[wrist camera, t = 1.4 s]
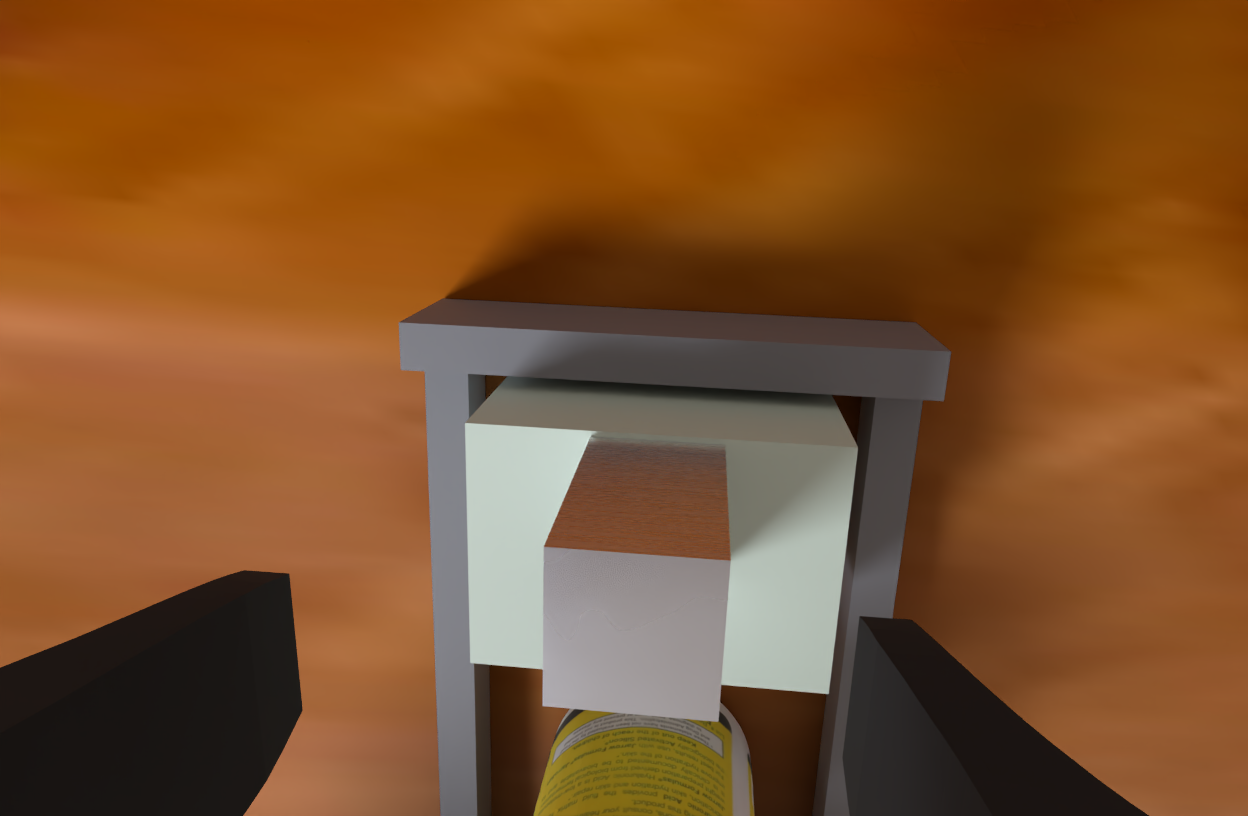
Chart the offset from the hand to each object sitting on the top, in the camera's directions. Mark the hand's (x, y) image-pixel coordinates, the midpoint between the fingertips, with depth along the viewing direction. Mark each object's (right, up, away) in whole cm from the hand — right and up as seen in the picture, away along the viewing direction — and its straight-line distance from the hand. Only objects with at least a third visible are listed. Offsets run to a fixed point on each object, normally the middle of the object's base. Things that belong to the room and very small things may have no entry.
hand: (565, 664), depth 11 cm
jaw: (+2, +2, +10) cm, 10 cm away
